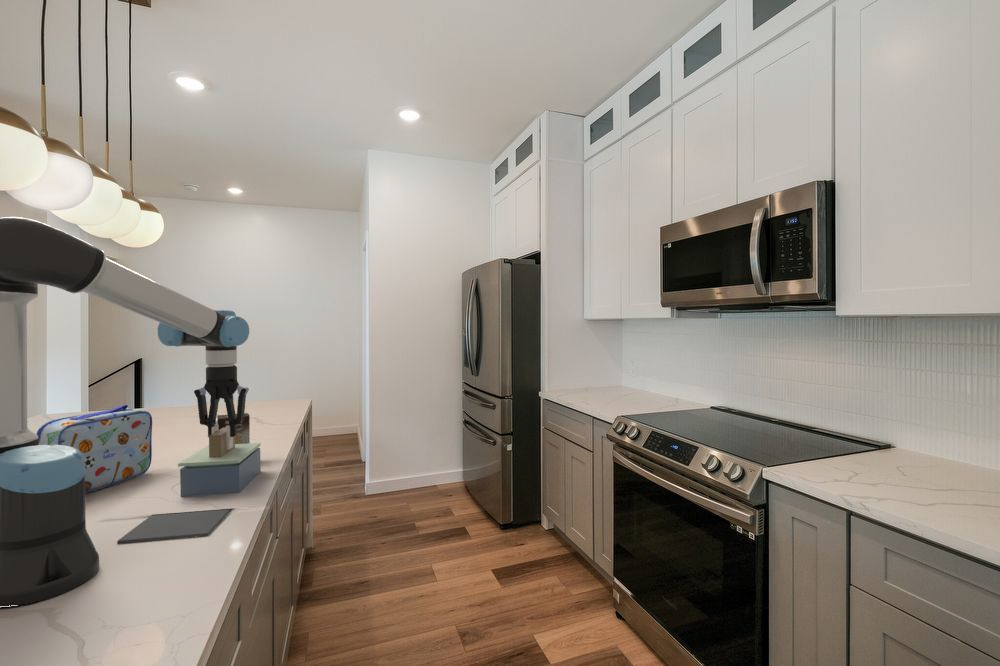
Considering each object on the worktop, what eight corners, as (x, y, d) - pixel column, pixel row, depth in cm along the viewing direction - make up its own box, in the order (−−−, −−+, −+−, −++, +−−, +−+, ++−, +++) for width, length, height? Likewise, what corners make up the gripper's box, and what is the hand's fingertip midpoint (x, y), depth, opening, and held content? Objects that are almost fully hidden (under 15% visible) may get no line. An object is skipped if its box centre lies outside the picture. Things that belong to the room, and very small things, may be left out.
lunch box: (133, 469, 145) (132, 399, 145) (160, 471, 143) (159, 400, 143) (28, 502, 118) (26, 417, 118) (60, 505, 116) (58, 418, 116)
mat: (207, 535, 99) (207, 533, 99) (117, 543, 96) (117, 540, 96) (243, 497, 121) (243, 495, 121) (170, 503, 117) (170, 500, 117)
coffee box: (217, 469, 144) (216, 418, 144) (216, 464, 150) (215, 415, 149) (250, 464, 149) (249, 415, 149) (248, 459, 155) (248, 412, 154)
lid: (238, 467, 122) (238, 437, 122) (178, 471, 119) (177, 440, 119) (260, 449, 140) (260, 423, 140) (208, 452, 137) (207, 425, 137)
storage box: (239, 495, 122) (239, 465, 122) (180, 499, 120) (180, 469, 120) (260, 473, 140) (260, 447, 140) (209, 477, 137) (209, 450, 137)
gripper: (256, 363, 134) (257, 443, 135) (195, 364, 131) (196, 446, 132) (248, 365, 127) (249, 450, 127) (183, 367, 124) (184, 454, 124)
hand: (222, 448), depth 130 cm, fingers closed on lid, 3 cm apart
